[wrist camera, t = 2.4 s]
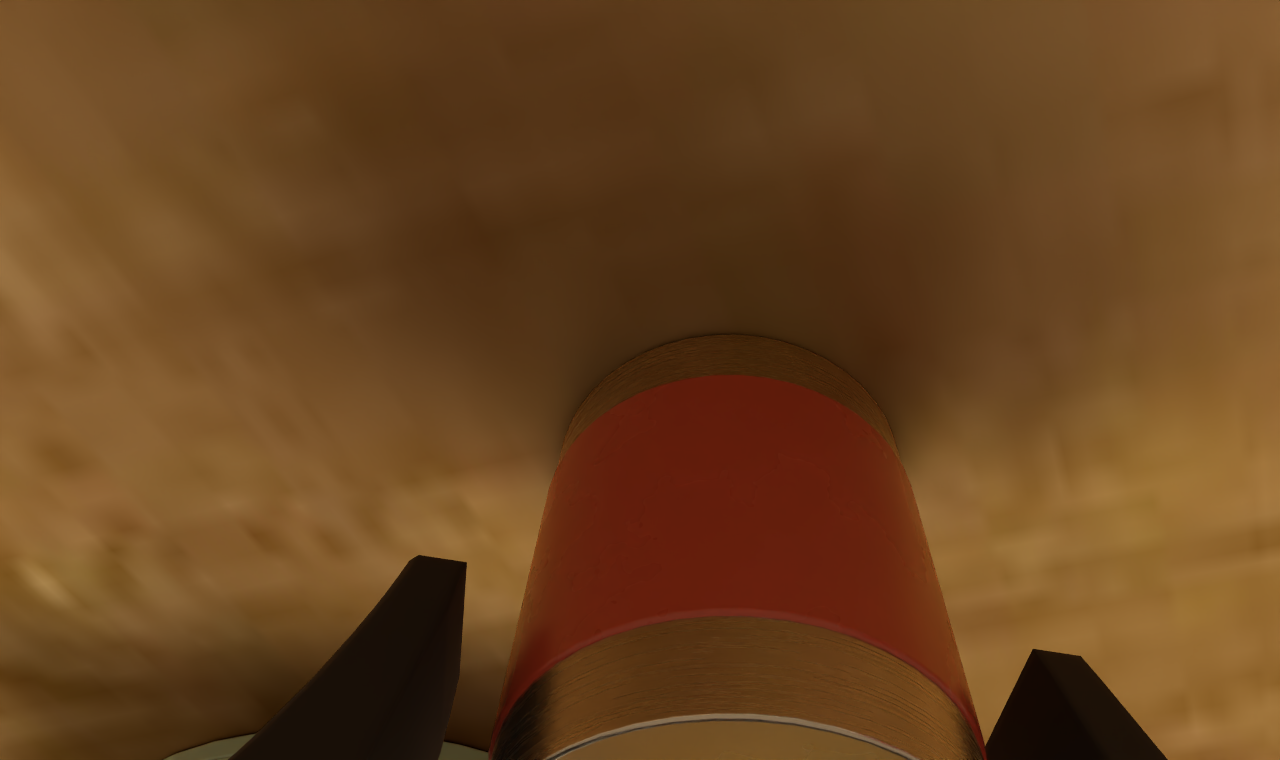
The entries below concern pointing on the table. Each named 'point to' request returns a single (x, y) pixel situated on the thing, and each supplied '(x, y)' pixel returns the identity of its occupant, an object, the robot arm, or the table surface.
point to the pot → (216, 754)
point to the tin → (732, 576)
